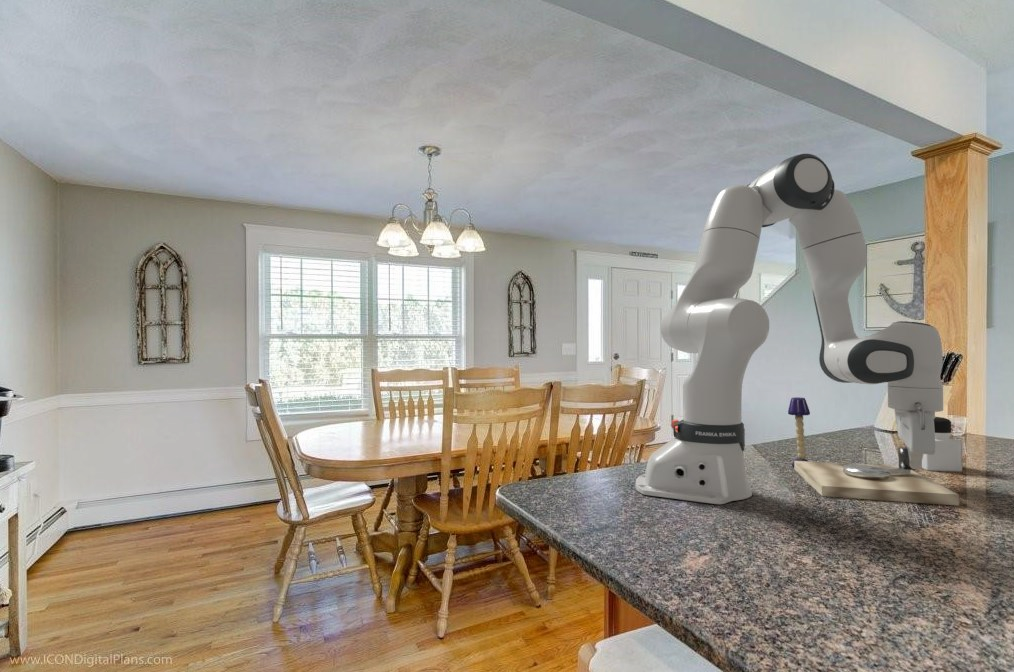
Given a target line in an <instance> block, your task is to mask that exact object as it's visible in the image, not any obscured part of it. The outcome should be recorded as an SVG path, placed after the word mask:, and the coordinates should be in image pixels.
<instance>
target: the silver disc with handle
mask: <svg viewBox="0 0 1014 672" xmlns="http://www.w3.org/2000/svg"><path fill="white" fill-rule="evenodd" d="M897 451H898V453H897V454H898V466H899V467H894V468H881V467H876V466H870V465H871V464H866V465H860V464H861V463H847V464H848V465H844V466H843V472H844V473H846V474H849V475H853V476H857V477H864V478H874V479H883V478H889V477H890V474H911V470H912V471H915V470H916V471H917V469H912V468H911V467H910V466H909V455H908V449H907V446H899V447H898V450H897Z"/></svg>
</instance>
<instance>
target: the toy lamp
mask: <svg viewBox="0 0 1014 672" xmlns="http://www.w3.org/2000/svg"><path fill="white" fill-rule="evenodd" d="M787 413H788V415H791V416H794V420H795V433H796V434H795V438H796V446H797V447H796V451H797V458H795V459H793V461H792V463H791V467H792V468H794V461H809V460H808V459H806V458H807V456H806V453H805V452H806V447H805V445H806V442H805V434H804V433H805V429H804V425H805V424H804V416H810V414H811V411H810V409H809V406H808V403H807V400H806V398H805V397H791V398H790V402H789V406H788V410H787Z"/></svg>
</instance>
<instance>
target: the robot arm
mask: <svg viewBox="0 0 1014 672" xmlns="http://www.w3.org/2000/svg"><path fill="white" fill-rule="evenodd" d="M787 219H788V221H789V223H791V224H792V225H793V226H794V228H795V229H796V231H797V233H798V234H797V235H798V238H799V243H800V247H801V250H802V254H803V258H804V261H805V264H806V267H807V272H808V275H809V278H810V279H809V280H810V283H811V284H810V285H811V289H812V295H813V301H814V306H815V307H814V308H815V310H816V316H817V322H818V325H819V326H818V327H819V331H820V337H821V345H820V351H819V356H818V357H819V358H818V359H819V360H818V361H819V366H820V368H821V370H822V371H823V374H825V375H826V376H827V377H828V378H829V379H831V380H832V381H835V382H838V383H843V384H847V383H855V384H863V385H864V384H865V385H878V384H884V383H887V407H888V408H889V409H893V410H894V417H895V426H896V430H897V435H898V438H899V439H900V440H901V442H902V443H904V444H905V447H907V449H908V455H909V466H910V467H911V468H912V469H917V470H922V469H923V468H922V459H923V454H928V455H933V454H934V453H935V427H934V419H935V417H936V413H937V412H943V411H944V385H943V382H942V379H941V372H942V370H943V365H944V360H943V359H944V358H943V357H944V356H943V346H942V339H941V335H940V331H938V329H937V328H936V327H934V326H933V325H931V324H927V323H925V322H917V321H905V320H904V321H903V320H902V321H895V322H892V323H891V324H890V325H889V326H887V327H885V328H884V329H882V330H879V331H878V332H877V331H876V332H875V333H872V334H870V335H867V336H864V337H858V336H857V334H856V332H855V330H854V324H853V318H852V315H851V309H850V303H849V294H850V291H851V288H852V287H853V284H854V283H855V281H856V280H857V279H858V278H859V277H860V276H861V274H862V273H863V272H864V270H865V268H866V266H867V263H868V251H867V250H868V249H867V244H866V241H865V240H866V239H865V236H864V234H863V231H862V227H861V225H860V222H859V219H858V217H857V214H856V211H855V210H854V208H853V206H852V204H851V202H850V201H849V199H848V197H847V195H846V194H845V193H844V192H842V191H841V190H839V189H835V182H834V179H833V175H832V173H831V171H830V169H829V167H828V166H827V164H826V163H825V162H824V161H823V159H821V158H820V157H818V156H817V155H814V154H811V153H800V154H796V155H794V156H789V157H788V158H786V159H784V160H783V161H782V162H780V163H779V164H777V165H775V166H773V167H772V168H770V169H768V170H766V171H764V172H763V173H761V174H760V175H759V176H757V177H756V178H755V179H754V180H753V181H752V182H750V183H749V184H747V185H744V184H743V185H742V184H741V185H739V184H738V185H737V184H736V185H730V186H727V187H725V188H723V189H722V190H720V192H719V193H717V195H716V196H715V198H714V200H713V203H712V205H711V207H710V210H709V213H708V215H707V218H706V221H705V224H704V228H703V232H702V237H701V240H700V243H699V249H698V254H697V255H696V260H695V263H694V264H695V265H694V267H693V270H692V272H691V275H690V277H689V278H688V281H687V282H686V285H685V287H684V288H683V290H682V292H681V294H680V296H679V298H678V299H677V301H676V302H675V303H674V305H673V306H671V307H672V308H670V309H669V310H668V311H667V312H665V314H664V316H663V317H662V318H661V319H662V320H661V323H660V334H661V336H662V339H663V341H664V343H666V345H667V346H668V347H670V348H672V349H675V350H678V351H680V352H683V353H687V354H697V358H696V360H695V365H694V367H693V370H692V372H691V373H690V375H689V376H688V377H687V378H686V379H684V382H683V385H682V403H683V404H682V405H683V406H682V408H683V410H682V411H683V416H682V417H683V419H681V420H679V419H677V418H676V419H673V420H672V421H671V422H670V427H671V428H672V431H673V432H672V433H673V435H672V436H673V438H672V439H670V440H669V441H668V442H666V443H665V444H663V445H662V446H661V447H659V448H658V449H656V450H655V451H653V452H652V453H651V455H650V456H649V457H648V460H647V463H646V467H645V473H643V474H641V475H639V476H638V477H637V478H636V480H635V484H634V485H635V490H636V491H637V492H638V493H640V494H641V495H645V496H652V497H660V498H667V499H676V500H682V501H690V502H697V503H704V504H705V503H706V504H713V505H724V504H727V503H730V502H733V501H741V500H745V499H749V498H751V497H752V495H753V491H752V490H751V486H750V482H749V478H748V474H747V469H746V464H745V457H744V451H745V447H746V430H745V424H744V423H743V421H742V389H743V382H744V376H745V374H746V370H747V367H748V365H749V363H750V360H751V358H752V356H753V354H755V352H756V351H757V350H758V349H759V348H761V346H762V345H764V343H765V342H766V341H767V338H768V336H769V331H770V319H769V316H768V314H767V311H766V309H765V308H764V306H762V305H761V304H760V303H759V302H757V301H754V300H752V299H747V298H746V299H745V298H740V297H735V295H736V294H737V293H738V292H739V290H740V289H741V288H742V287H743V286H745V285H746V284H747V283H748V281H749V280H750V279H751V277H752V275H753V270H754V267H755V262H756V257H757V254H758V253H757V252H758V250H759V249H758V248H759V243H760V239H761V234H762V233H761V232H762V228H766V227H771V226H773V225H775V224H777V223H778V222H779V223H780V222H782V221H784V220H787ZM917 470H916V471H917Z"/></svg>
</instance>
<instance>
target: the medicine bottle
mask: <svg viewBox="0 0 1014 672" xmlns="http://www.w3.org/2000/svg"><path fill="white" fill-rule="evenodd" d="M934 427H935V453H934V454H933V455H928V454H923V459H922V469H923V470H925V471H928V472H930V471H931V472H933V471H934V472H958V473H959V472H960V473H962V472H963V451H962V450H963V445H962V444H963V443H962V441H961V440H958V439H955V438H951V437H952V420H950V419H948V418H946V417H942V416H941V417H940V416H935V419H934Z"/></svg>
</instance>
